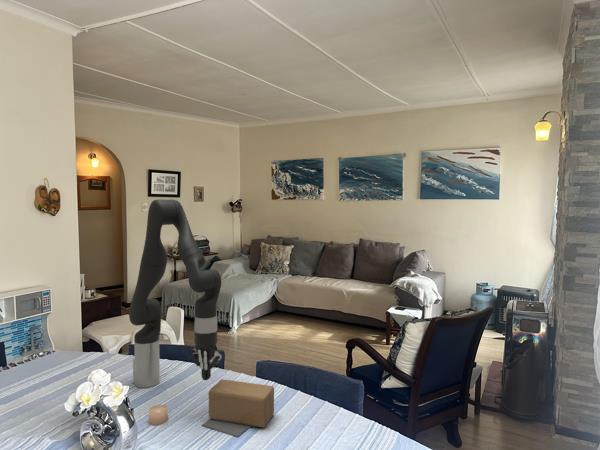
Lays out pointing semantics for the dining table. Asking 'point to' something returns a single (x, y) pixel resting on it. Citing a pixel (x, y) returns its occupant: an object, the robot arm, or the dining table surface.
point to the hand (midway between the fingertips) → (206, 379)
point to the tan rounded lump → (158, 414)
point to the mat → (226, 427)
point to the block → (241, 402)
